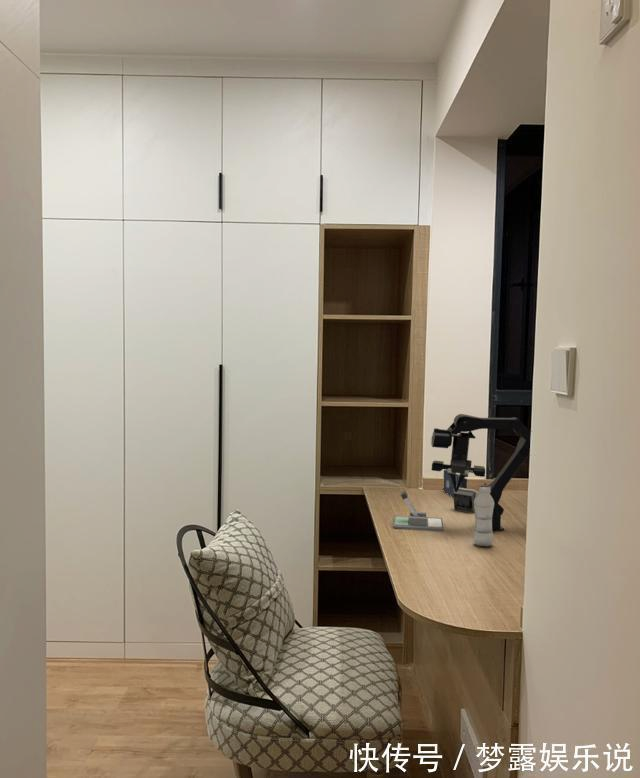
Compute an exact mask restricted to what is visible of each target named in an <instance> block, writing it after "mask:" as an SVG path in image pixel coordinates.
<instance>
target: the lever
mask: <svg viewBox="0 0 640 778" xmlns="http://www.w3.org/2000/svg"><path fill="white" fill-rule="evenodd" d="M400 496H401V498H402V500H404V502H405V503H406V504H407V507H408V508H409V510H410V511H411V512H412V514H413V515H414V516H415V517H420V516H419V515H418V513H417V512H418V511H417V510H416V508H415V506H414V504H413V502H412V501H411V499H410V498H409V494H408V492H407V491H406V490H404V491H401V492H400Z"/></svg>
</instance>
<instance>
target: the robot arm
mask: <svg viewBox="0 0 640 778" xmlns="http://www.w3.org/2000/svg"><path fill="white" fill-rule="evenodd" d="M482 429H484V430H513V432H514V433H515V434H516V435H517V436H518V437H519V440H518V442H517V444H516V449H515V451H514V452H513V454H512V455H511V456H510V458H509V459H508V461H506V463H505V464H504V466H503V467H502V468H501V470H500V471H499V473H497V475H496V477H495V478H494V479H493V480H492V482H490V483H489V484H487V483H486V482H484V483H483V485H488V486H490V487H491V489H490V490H491V492H490V495H491V496H492V498H493V500H494V508H493V514H492V532H493V531H504V530H505V528H504V527H502V526H501V523H502V522H501V521H502V515H503V513H504V511H505V509H504V508H503V507H502V506H501V504H499V503H500V500H501V499H502V494H503V491H504V489H505V488H506V486H507V485H508V484H509V482H510V481H511V480H512V478H513V477H514V476H515V475H516V473H517V472H518V470H519V469H520V467H521V466H522V465H523V463H524V462H525V461H526V459H527V458H528V457H530V456H529V448H530V431H531V430H530V429H529V428H528V427H527V426H526V425H525V424H524V423H523V422H522V420H520V418H517V417H477V416H473V415H469V414H466V413H465V414H464V413H463V414H462V413H459V414H457V415H455V417H454V419H453V422H452V423H451V424H450V426H449V427H448V428H446V429H440V428H437V427H435V428H433V431H432V436H431V438H430V439H431V441H430V442H431V443H430V444H431V447H432V448H438V449H448V448H449V447H452V448H451V456H450V457H451V458H450V464H448V463H447V464H446V463H444V461H443V460H433V461H432V463H431V471H433V472H441V471H444V470H447V471H448V473H447V474H448V475H450V476H451V478H452V481H453V485H454V490H455V492H457V491H458V489H459V487H460V484H461V482H462V481H463V479H464V478H468V477H469V473H470V474H471V473H472V474H473V475H474V476H475V477H480V478H485V477H486V468H485V466H483V465H473V467H472V460H469V457H468V456H469V447H470V439H476V436H475V435H474V434H473V432H474V431H477V430H482ZM456 474H458V475H459V479H458V483H457V487H456ZM477 493H479V491H477Z"/></svg>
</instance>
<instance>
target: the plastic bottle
mask: <svg viewBox="0 0 640 778" xmlns="http://www.w3.org/2000/svg"><path fill="white" fill-rule="evenodd" d="M488 485H489V484H487V485H484V484H482V485H481V484H480V485H478V491H479V492H478V491H477V492H478V493H477V496H476V498H475V500H474V508H475V511H474V517H475V520H474V530H473V534H472V540H473V541H472V542H473V543H474V544H475V545H476V546H479V547H491V546H492V544H493V543H494V532H493V531H492V514H493V508H494V500H493V498H492V496H491V495H490V492H491V490H490V489H491V487H490V486H488Z"/></svg>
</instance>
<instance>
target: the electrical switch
mask: <svg viewBox="0 0 640 778" xmlns="http://www.w3.org/2000/svg"><path fill="white" fill-rule="evenodd" d="M477 495H478V491H477V490H476V489H472V488H471V489H470V488H467V489H465V488H459V489H458V491H457V492H455V490H454V493H453V497H452V498H453V505H454V507H453V508H454V511H459V510H460V511H459V512H464V511H466V513H470V512H471V514H474V513H475V508H474V500H475V498H476V496H477ZM465 509H466V510H465Z"/></svg>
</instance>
